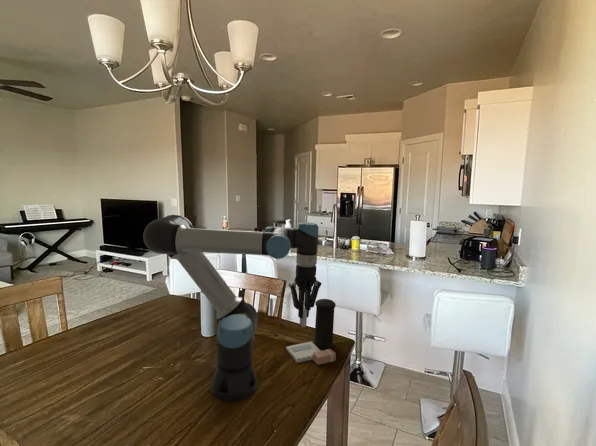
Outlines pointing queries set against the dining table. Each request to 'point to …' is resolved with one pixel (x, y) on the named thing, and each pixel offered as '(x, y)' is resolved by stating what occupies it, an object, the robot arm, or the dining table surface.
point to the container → (324, 323)
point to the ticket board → (302, 351)
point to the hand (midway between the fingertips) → (302, 325)
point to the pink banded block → (324, 356)
